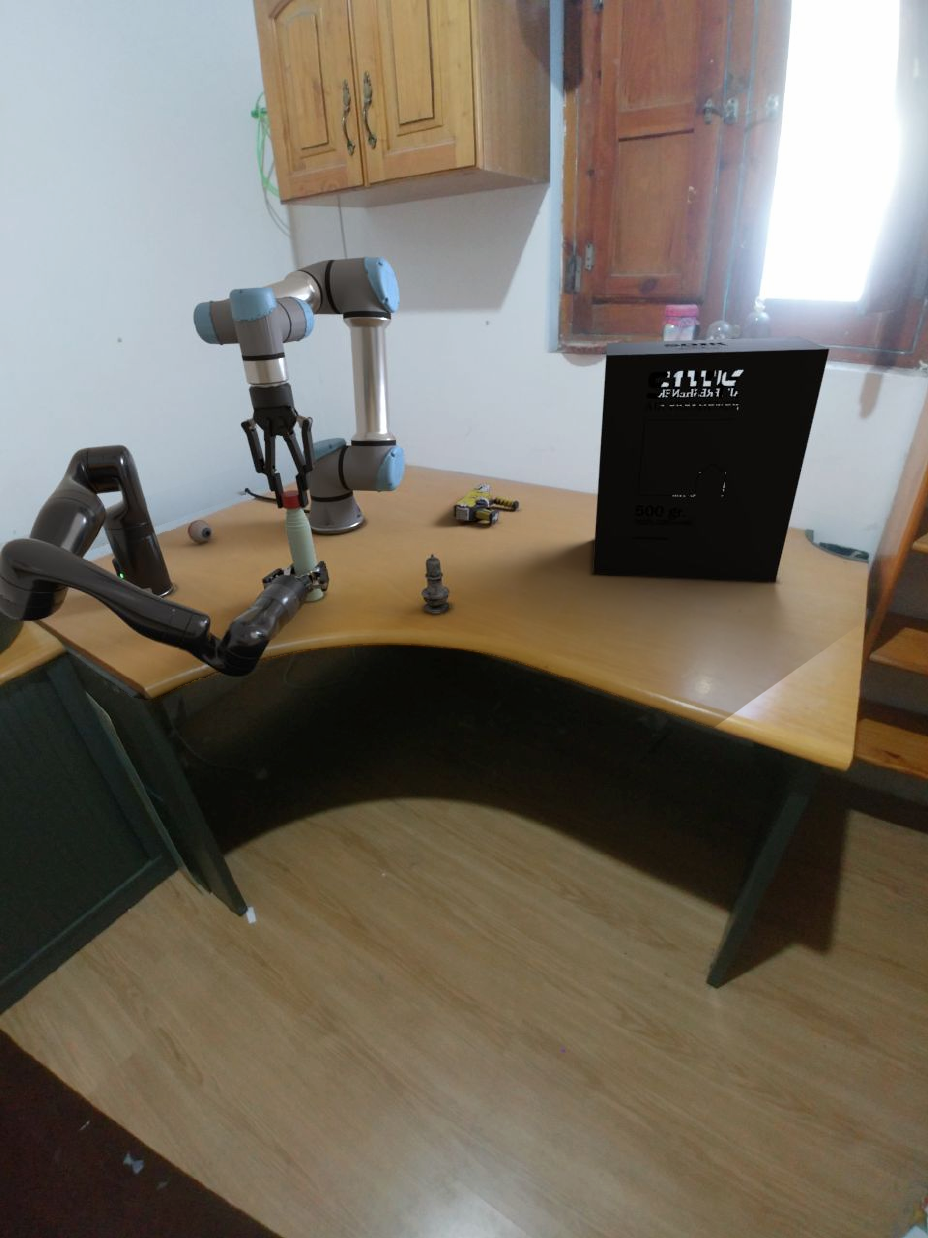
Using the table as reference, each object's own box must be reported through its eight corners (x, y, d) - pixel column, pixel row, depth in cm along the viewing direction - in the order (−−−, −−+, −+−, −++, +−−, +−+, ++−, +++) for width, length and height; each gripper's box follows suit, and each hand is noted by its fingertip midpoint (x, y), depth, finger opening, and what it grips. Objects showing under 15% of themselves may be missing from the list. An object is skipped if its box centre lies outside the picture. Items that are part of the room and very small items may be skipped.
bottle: (318, 601, 130) (299, 500, 119) (297, 601, 130) (275, 500, 119) (326, 591, 134) (307, 492, 123) (304, 591, 135) (284, 492, 123)
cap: (282, 509, 120) (279, 497, 119) (284, 503, 123) (281, 491, 122) (303, 507, 120) (300, 495, 119) (304, 501, 124) (302, 489, 123)
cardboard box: (755, 543, 144) (798, 336, 121) (775, 581, 127) (829, 348, 104) (594, 538, 151) (606, 342, 129) (592, 573, 134) (606, 355, 112)
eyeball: (201, 547, 160) (195, 526, 157) (186, 543, 163) (180, 522, 160) (220, 539, 164) (214, 518, 161) (205, 536, 167) (199, 515, 164)
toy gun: (527, 488, 179) (479, 481, 183) (505, 513, 159) (452, 504, 162) (525, 503, 181) (478, 496, 185) (503, 529, 161) (451, 520, 165)
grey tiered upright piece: (447, 614, 122) (443, 560, 116) (419, 613, 123) (413, 559, 117) (453, 601, 127) (450, 548, 121) (426, 599, 128) (421, 547, 122)
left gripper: (249, 617, 120) (283, 579, 134) (318, 619, 118) (345, 580, 132) (240, 583, 116) (276, 548, 131) (311, 585, 114) (339, 548, 128)
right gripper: (320, 378, 113) (339, 498, 124) (232, 382, 114) (259, 500, 126) (308, 385, 106) (329, 511, 118) (215, 389, 108) (245, 513, 120)
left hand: (310, 564), depth 131 cm, fingers closed on bottle, 5 cm apart
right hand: (293, 505), depth 122 cm, fingers closed on cap, 4 cm apart
